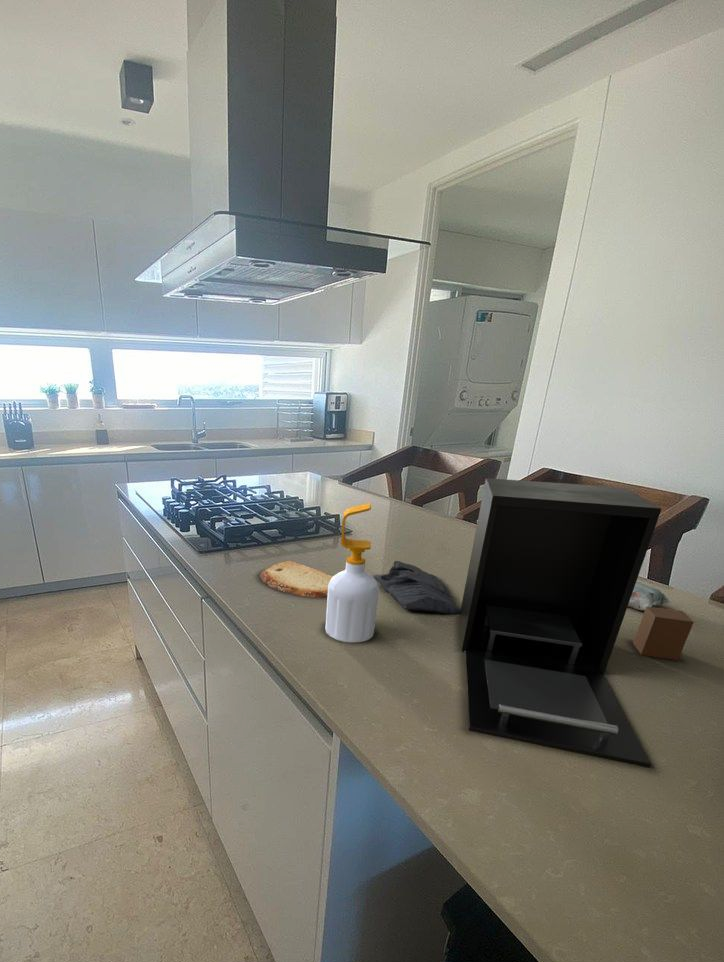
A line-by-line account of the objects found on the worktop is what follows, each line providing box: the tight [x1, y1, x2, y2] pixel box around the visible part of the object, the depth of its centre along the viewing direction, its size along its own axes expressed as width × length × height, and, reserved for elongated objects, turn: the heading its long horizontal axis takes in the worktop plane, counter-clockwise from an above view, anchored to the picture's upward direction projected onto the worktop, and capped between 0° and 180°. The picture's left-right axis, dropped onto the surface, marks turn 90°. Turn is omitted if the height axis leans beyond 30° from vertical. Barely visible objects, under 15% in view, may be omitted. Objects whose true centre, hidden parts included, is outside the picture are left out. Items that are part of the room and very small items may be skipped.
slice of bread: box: [259, 560, 333, 598], centre depth 113 cm, size 18×18×4 cm
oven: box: [459, 477, 662, 769], centre depth 74 cm, size 22×38×28 cm, turn 162°
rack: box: [483, 605, 582, 664], centre depth 87 cm, size 14×11×4 cm
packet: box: [632, 606, 695, 661], centre depth 85 cm, size 6×4×8 cm
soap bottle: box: [325, 502, 380, 644], centre depth 87 cm, size 9×9×25 cm
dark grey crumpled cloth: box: [374, 560, 461, 615], centre depth 108 cm, size 15×22×5 cm
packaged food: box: [627, 581, 671, 611], centre depth 105 cm, size 9×12×5 cm
